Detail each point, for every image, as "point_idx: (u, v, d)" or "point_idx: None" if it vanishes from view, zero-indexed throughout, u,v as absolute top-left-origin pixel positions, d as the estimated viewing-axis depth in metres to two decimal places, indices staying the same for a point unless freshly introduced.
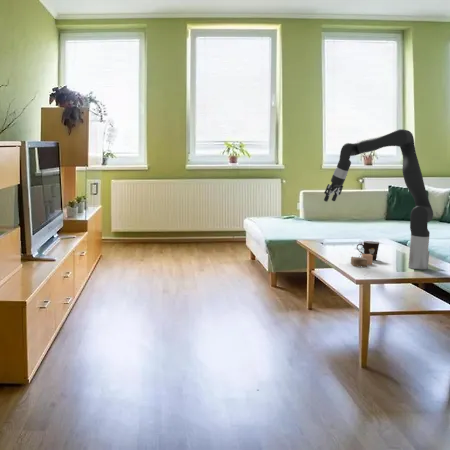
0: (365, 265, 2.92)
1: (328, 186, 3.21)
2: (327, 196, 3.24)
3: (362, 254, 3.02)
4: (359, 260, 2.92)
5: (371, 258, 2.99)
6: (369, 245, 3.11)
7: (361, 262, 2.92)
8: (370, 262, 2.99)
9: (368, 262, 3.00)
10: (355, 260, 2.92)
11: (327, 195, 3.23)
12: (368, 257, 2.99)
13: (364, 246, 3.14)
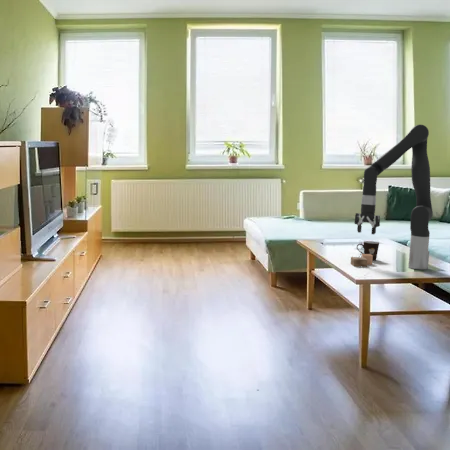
0: (365, 265, 2.92)
1: (378, 217, 2.95)
2: (375, 228, 2.97)
3: (362, 254, 3.02)
4: (359, 260, 2.92)
5: (371, 258, 2.99)
6: (369, 245, 3.11)
7: (361, 262, 2.92)
8: (370, 262, 2.99)
9: (368, 262, 3.00)
10: (355, 260, 2.92)
11: None
12: (368, 257, 2.99)
13: (364, 246, 3.14)
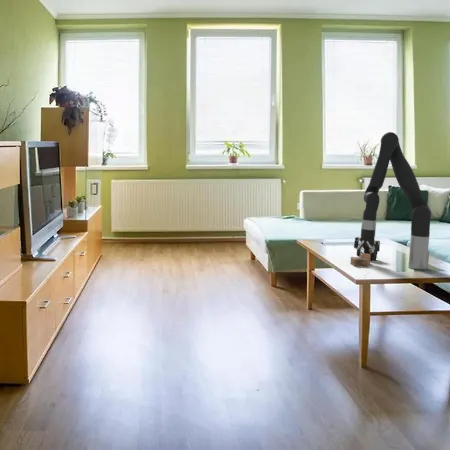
0: (365, 265, 2.92)
1: (378, 242, 2.97)
2: (375, 253, 2.99)
3: (360, 254, 3.02)
4: (359, 260, 2.92)
5: (369, 258, 3.00)
6: None
7: (361, 262, 2.92)
8: (368, 262, 3.00)
9: None
10: (356, 260, 2.92)
11: None
12: (366, 257, 3.00)
13: None
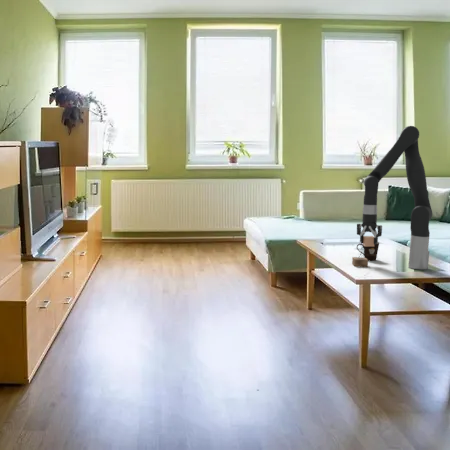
0: (366, 265, 2.92)
1: (380, 227, 2.95)
2: (377, 238, 2.97)
3: (364, 236, 3.00)
4: (360, 260, 2.92)
5: (373, 240, 2.97)
6: None
7: (362, 262, 2.92)
8: (372, 244, 2.98)
9: (370, 244, 2.98)
10: (356, 260, 2.92)
11: None
12: (370, 239, 2.97)
13: (364, 246, 3.14)
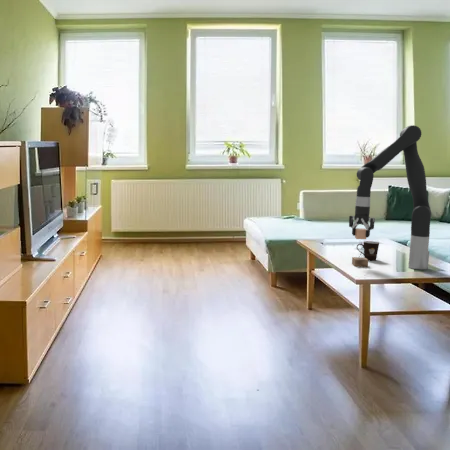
0: (366, 265, 2.92)
1: (373, 220, 2.88)
2: (369, 231, 2.91)
3: (356, 228, 2.94)
4: (360, 260, 2.92)
5: (365, 232, 2.91)
6: (369, 245, 3.11)
7: (362, 262, 2.92)
8: (364, 236, 2.92)
9: (362, 236, 2.92)
10: (356, 260, 2.92)
11: None
12: (362, 231, 2.91)
13: (364, 246, 3.14)
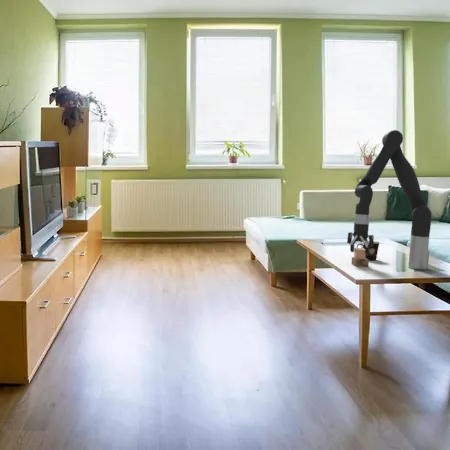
0: (367, 265, 2.92)
1: (372, 237, 2.89)
2: (369, 247, 2.92)
3: (355, 248, 2.95)
4: (361, 260, 2.92)
5: (364, 252, 2.93)
6: None
7: (363, 262, 2.92)
8: (363, 257, 2.93)
9: (361, 257, 2.93)
10: (357, 260, 2.92)
11: (369, 246, 2.91)
12: (361, 251, 2.93)
13: (364, 246, 3.14)
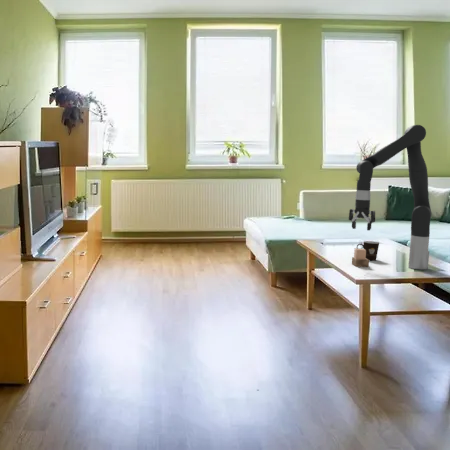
0: (367, 265, 2.92)
1: (373, 213, 2.88)
2: None
3: (355, 249, 2.95)
4: (361, 260, 2.92)
5: (364, 253, 2.92)
6: (369, 245, 3.11)
7: (363, 262, 2.92)
8: (363, 257, 2.92)
9: (361, 257, 2.92)
10: (357, 260, 2.91)
11: (371, 223, 2.90)
12: (361, 252, 2.92)
13: (364, 246, 3.14)
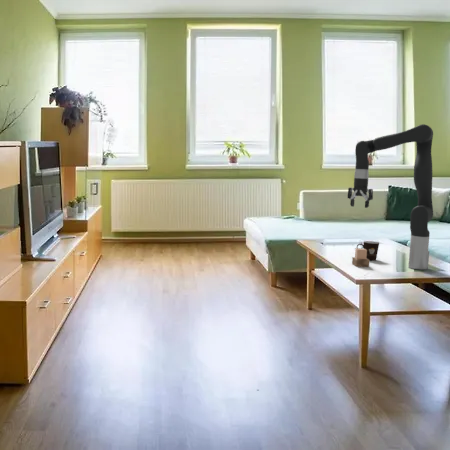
0: (367, 265, 2.92)
1: (371, 191, 3.01)
2: None
3: (356, 248, 2.95)
4: (362, 260, 2.92)
5: (365, 252, 2.92)
6: (369, 245, 3.11)
7: (364, 262, 2.92)
8: (364, 257, 2.93)
9: (362, 257, 2.93)
10: (358, 260, 2.91)
11: (369, 200, 3.03)
12: (362, 251, 2.92)
13: (364, 246, 3.14)
